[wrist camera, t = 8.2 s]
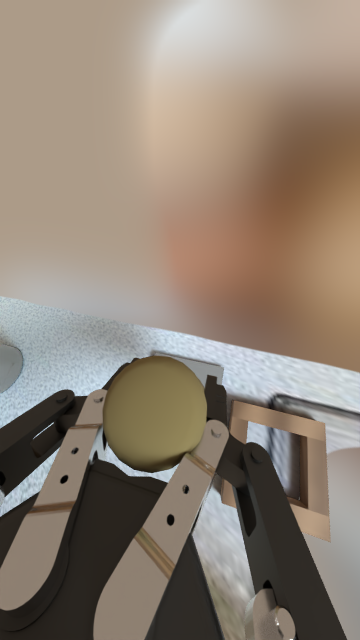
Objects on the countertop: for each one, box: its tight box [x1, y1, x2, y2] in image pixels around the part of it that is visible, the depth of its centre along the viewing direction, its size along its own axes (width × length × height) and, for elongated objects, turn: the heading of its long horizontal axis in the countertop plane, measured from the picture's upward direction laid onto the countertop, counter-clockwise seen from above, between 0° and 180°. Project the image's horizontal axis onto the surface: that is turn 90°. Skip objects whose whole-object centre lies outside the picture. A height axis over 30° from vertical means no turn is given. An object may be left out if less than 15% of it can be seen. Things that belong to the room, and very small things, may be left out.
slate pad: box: [154, 352, 224, 388], centre depth 29 cm, size 12×11×1 cm
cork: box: [102, 355, 207, 473], centre depth 13 cm, size 6×6×11 cm
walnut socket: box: [220, 400, 330, 542], centre depth 24 cm, size 12×12×2 cm
